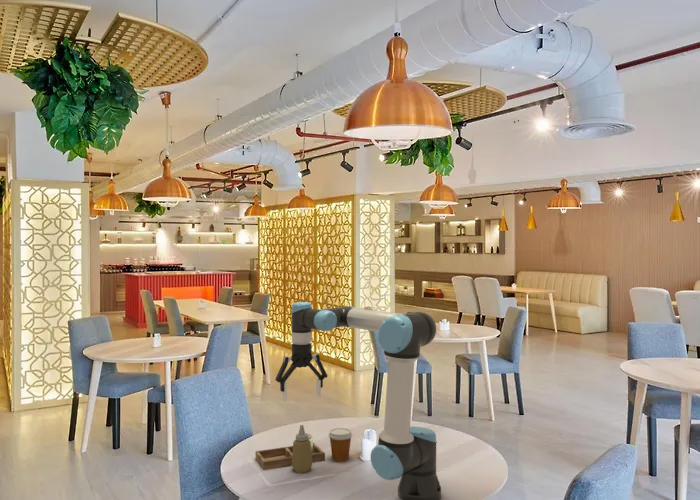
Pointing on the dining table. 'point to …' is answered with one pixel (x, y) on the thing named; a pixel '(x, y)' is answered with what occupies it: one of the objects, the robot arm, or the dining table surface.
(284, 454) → the caddy
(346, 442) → the disposable coffee cup
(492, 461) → the dining table surface
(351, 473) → the dining table surface
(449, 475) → the dining table surface
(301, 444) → the squeeze bottle
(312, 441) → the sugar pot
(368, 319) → the robot arm
